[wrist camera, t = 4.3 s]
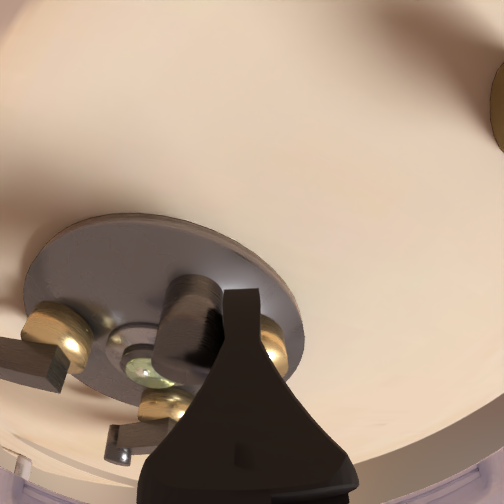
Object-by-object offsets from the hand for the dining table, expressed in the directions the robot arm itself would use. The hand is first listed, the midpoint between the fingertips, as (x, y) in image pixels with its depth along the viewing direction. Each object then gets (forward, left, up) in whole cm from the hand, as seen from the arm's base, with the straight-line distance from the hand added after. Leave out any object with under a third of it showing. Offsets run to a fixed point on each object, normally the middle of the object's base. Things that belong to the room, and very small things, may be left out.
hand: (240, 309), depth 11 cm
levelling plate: (-7, +6, -4) cm, 10 cm away
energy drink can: (-85, +83, -4) cm, 118 cm away
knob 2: (-14, +8, -3) cm, 16 cm away
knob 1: (-4, +13, -3) cm, 14 cm away
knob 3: (-3, +1, -3) cm, 4 cm away
